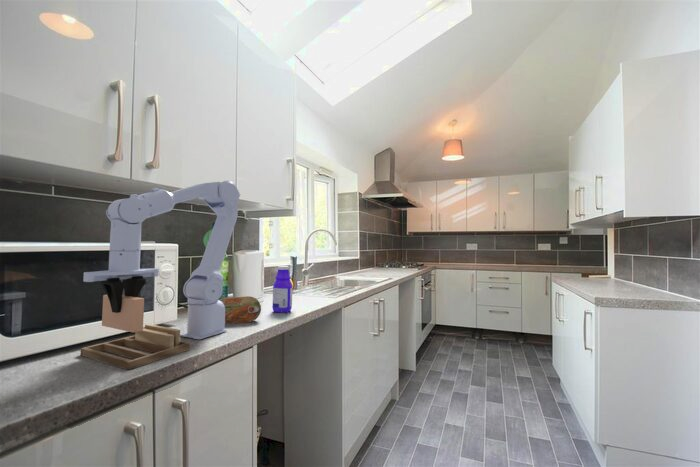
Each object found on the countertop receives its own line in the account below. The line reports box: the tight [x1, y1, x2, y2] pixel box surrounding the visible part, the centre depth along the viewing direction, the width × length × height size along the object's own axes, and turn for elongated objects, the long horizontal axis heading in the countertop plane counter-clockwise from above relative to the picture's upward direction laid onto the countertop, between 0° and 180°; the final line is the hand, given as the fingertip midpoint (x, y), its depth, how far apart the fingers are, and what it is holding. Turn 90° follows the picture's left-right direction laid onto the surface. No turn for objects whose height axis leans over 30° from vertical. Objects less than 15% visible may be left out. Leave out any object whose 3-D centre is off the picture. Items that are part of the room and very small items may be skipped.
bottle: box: [272, 265, 293, 314], centre depth 117 cm, size 7×6×17 cm
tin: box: [218, 295, 262, 325], centre depth 100 cm, size 15×3×8 cm, turn 106°
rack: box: [79, 334, 191, 371], centre depth 71 cm, size 14×18×2 cm
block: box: [101, 294, 145, 333], centre depth 69 cm, size 2×12×7 cm, turn 65°
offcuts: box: [134, 323, 181, 348], centre depth 75 cm, size 3×14×4 cm, turn 65°
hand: (122, 311), depth 69 cm, fingers closed on block, 2 cm apart
